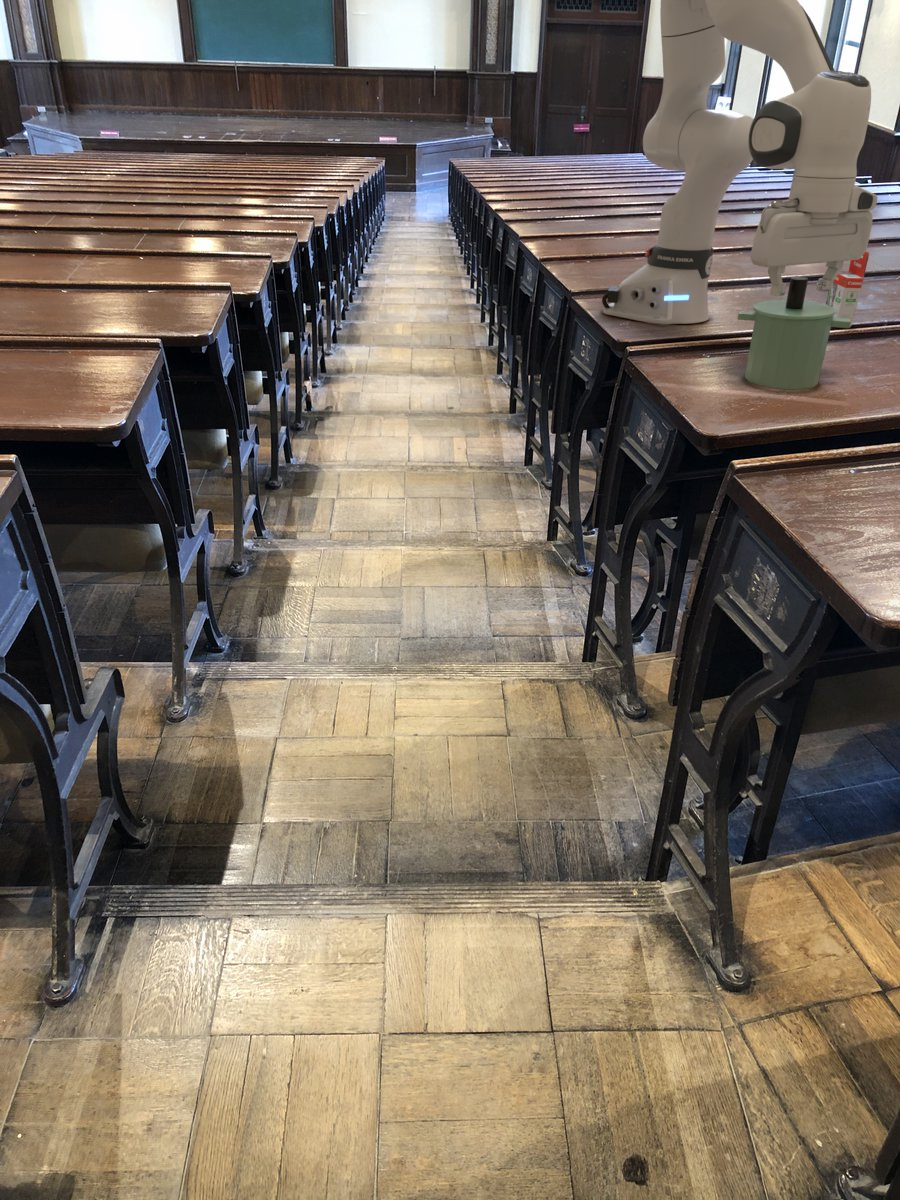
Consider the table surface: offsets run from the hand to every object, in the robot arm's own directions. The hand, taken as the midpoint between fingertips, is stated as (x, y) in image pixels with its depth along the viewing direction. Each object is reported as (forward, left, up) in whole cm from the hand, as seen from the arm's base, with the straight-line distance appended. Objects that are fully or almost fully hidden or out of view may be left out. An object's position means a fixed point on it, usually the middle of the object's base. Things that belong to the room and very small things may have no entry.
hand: (800, 293), depth 136 cm
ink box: (-3, +51, -15) cm, 53 cm away
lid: (0, -1, -3) cm, 3 cm away
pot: (0, 0, -14) cm, 14 cm away
